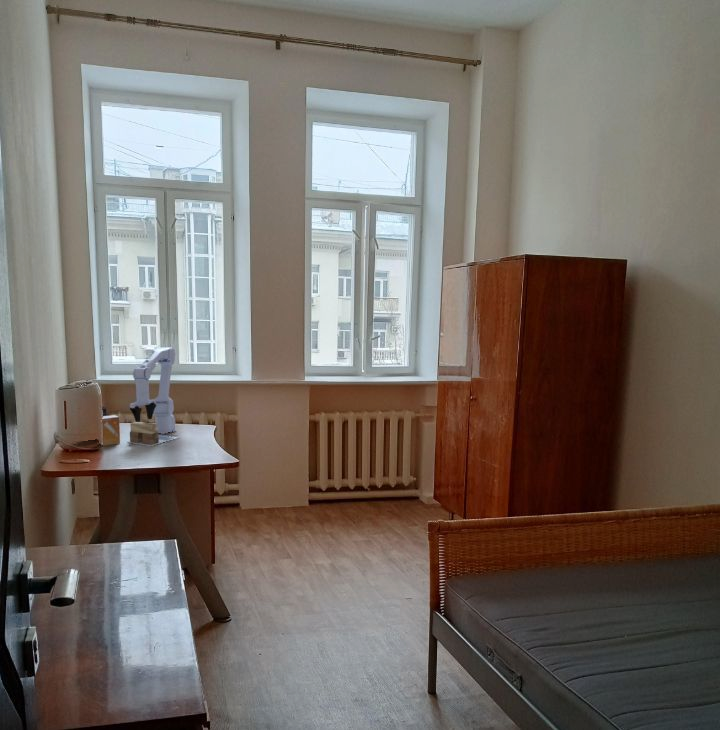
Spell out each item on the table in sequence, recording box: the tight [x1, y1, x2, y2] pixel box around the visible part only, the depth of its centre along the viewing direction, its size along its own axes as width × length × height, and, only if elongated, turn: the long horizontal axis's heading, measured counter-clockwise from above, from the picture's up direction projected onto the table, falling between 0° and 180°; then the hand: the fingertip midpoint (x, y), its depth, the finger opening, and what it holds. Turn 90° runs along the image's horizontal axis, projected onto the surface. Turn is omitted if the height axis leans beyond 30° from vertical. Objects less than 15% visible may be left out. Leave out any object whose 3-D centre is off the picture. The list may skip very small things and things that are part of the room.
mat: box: [126, 434, 180, 447], centre depth 274 cm, size 18×16×1 cm
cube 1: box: [129, 430, 143, 443], centre depth 270 cm, size 5×5×5 cm
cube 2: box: [142, 432, 159, 445], centre depth 267 cm, size 5×5×5 cm
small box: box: [101, 414, 121, 447], centre depth 267 cm, size 8×6×13 cm
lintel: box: [129, 421, 158, 434], centre depth 268 cm, size 4×13×4 cm, turn 66°
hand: (143, 420), depth 271 cm, fingers open, 7 cm apart
